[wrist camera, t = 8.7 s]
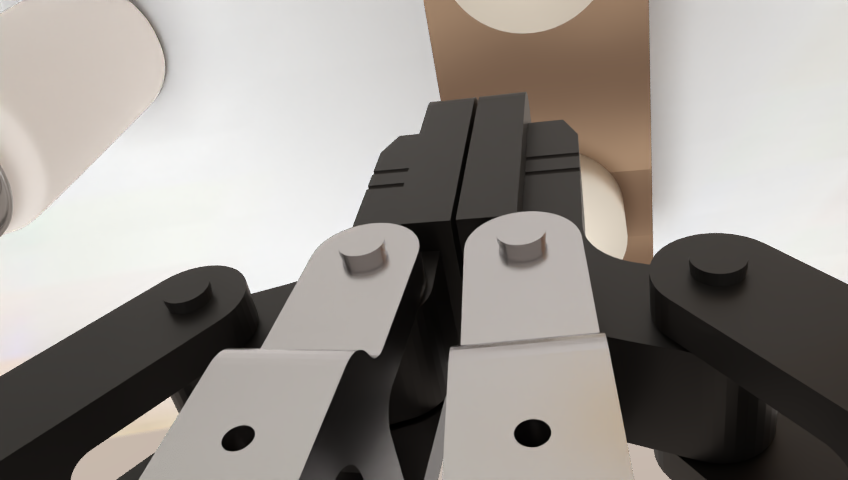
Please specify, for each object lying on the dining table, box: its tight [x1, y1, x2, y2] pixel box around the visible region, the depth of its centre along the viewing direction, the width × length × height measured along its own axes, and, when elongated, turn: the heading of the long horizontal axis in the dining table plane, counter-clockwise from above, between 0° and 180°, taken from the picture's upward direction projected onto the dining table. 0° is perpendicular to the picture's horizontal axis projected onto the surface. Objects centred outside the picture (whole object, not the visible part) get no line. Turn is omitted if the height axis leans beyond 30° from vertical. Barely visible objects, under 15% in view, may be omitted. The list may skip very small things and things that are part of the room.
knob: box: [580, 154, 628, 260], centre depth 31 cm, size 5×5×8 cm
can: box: [0, 0, 165, 237], centre depth 31 cm, size 6×6×12 cm
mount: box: [424, 0, 653, 264], centre depth 29 cm, size 20×7×7 cm, turn 10°
